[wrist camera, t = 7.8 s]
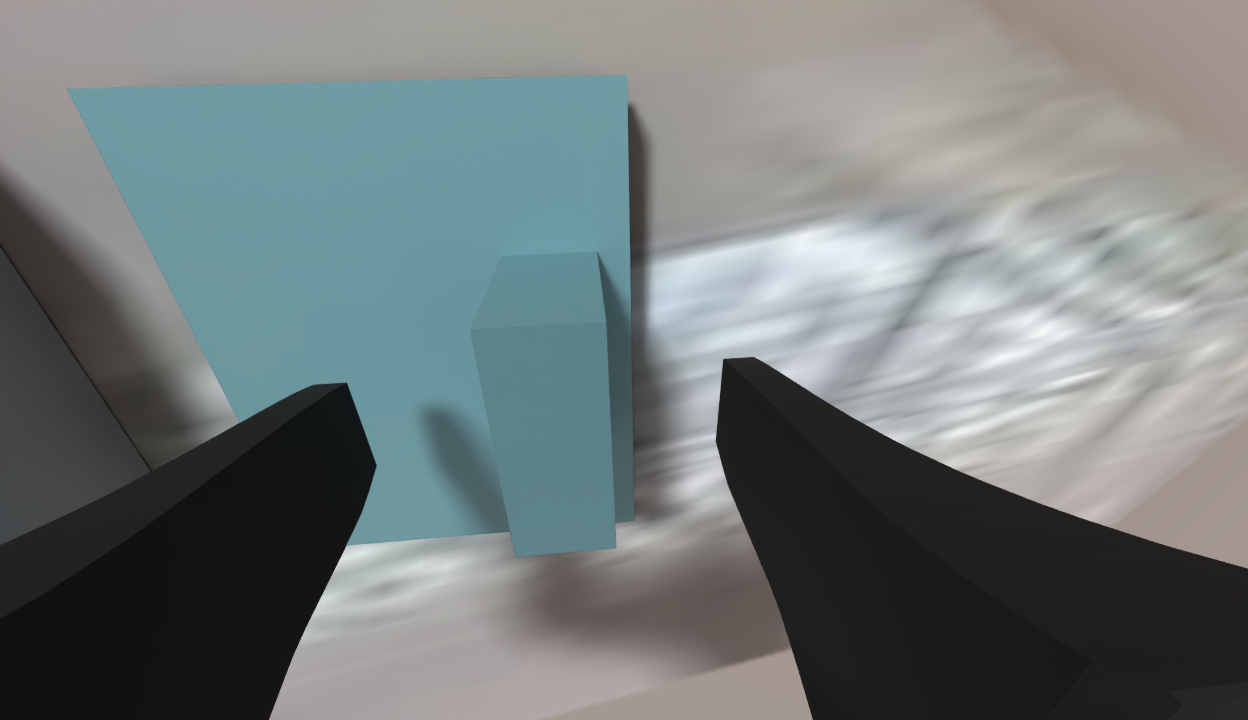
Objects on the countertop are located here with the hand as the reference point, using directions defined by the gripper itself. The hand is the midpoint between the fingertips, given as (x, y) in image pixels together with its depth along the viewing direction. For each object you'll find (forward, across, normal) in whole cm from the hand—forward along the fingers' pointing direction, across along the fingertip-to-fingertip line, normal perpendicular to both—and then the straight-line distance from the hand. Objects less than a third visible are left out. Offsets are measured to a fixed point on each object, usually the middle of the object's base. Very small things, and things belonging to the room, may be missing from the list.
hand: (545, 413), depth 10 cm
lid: (+3, +3, 0) cm, 4 cm away
